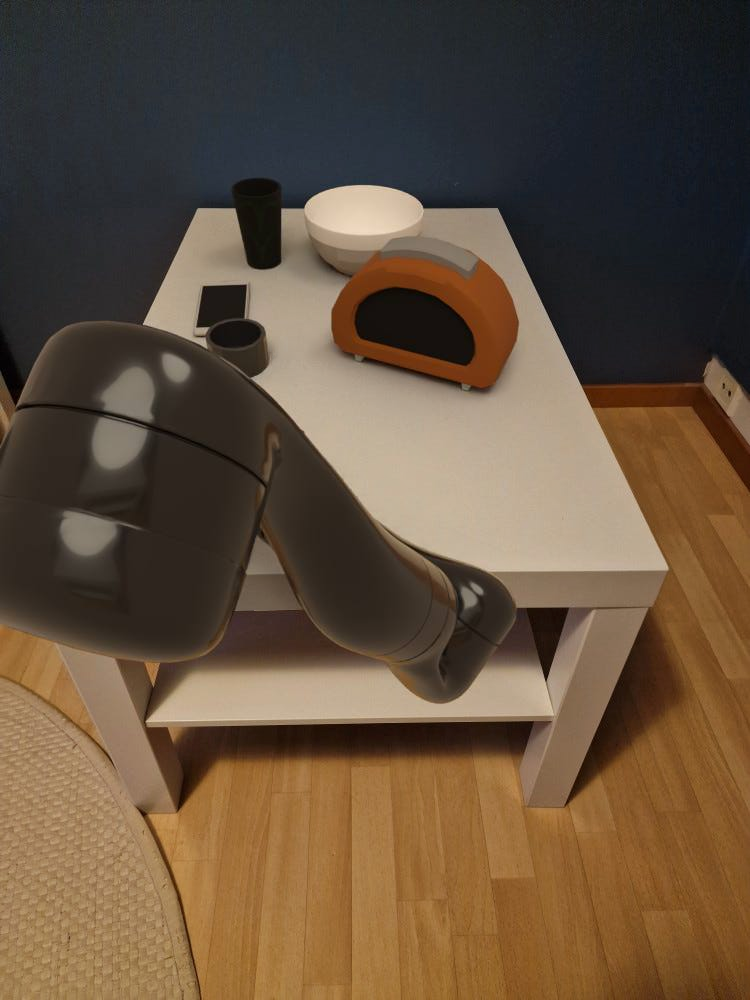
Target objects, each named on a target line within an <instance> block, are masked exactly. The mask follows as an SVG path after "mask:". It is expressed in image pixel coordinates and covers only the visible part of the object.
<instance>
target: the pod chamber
mask: <svg viewBox="0 0 750 1000" xmlns="http://www.w3.org/2000/svg"><path fill="white" fill-rule="evenodd" d="M204 338H205V343H206V344H205V345H206V349H208V350H210V351H212V352H213V353H215V354H217V355H218V356H220V357H222V358H223V359H225V360H227V361H228V362H230V363H232V364H233V365H235V366H236V367H237V368H239V369H240V370H241V371H242V372H244V373H245V374H246V375H247V376H248V377H250V378H253V377H257V376H258V375H259V374H261V373H262V372H264V371H265V370H266V369H267V367H268V366H269V361H270V357H269V355H270V354H269V347H268V339H267V332H266V328H265V326H264V325H262V324H261V323H260V322H259V321H256V320H253V319H251V318H247V319H244V318H234V319H226V320H223V321H220V322H218V323H215V324H214V325H213V326H211V327H210V328H209V329H208V330H207V332H206V334H205V336H204Z"/></svg>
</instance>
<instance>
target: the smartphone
mask: <svg viewBox="0 0 750 1000" xmlns="http://www.w3.org/2000/svg"><path fill="white" fill-rule="evenodd" d="M250 284H251V283H250V281H249V280H248V279H244V280H243V279H241V280H239V279H238V280H214V281H213V280H212V281H211V280H209V281H203V282H201V284H200V291H199V296H198V303H197V308H196V314H195V319H194V320H195V321H194V327H193V336H195V337H205V334H206V332H207V330H208V329H209V328H210V327H211V326H213V325H214V324H215V323H218V322H220V321H223V320H226V319H234V318H244V319H249V318H248V316H249V303H250V286H251V285H250Z"/></svg>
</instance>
